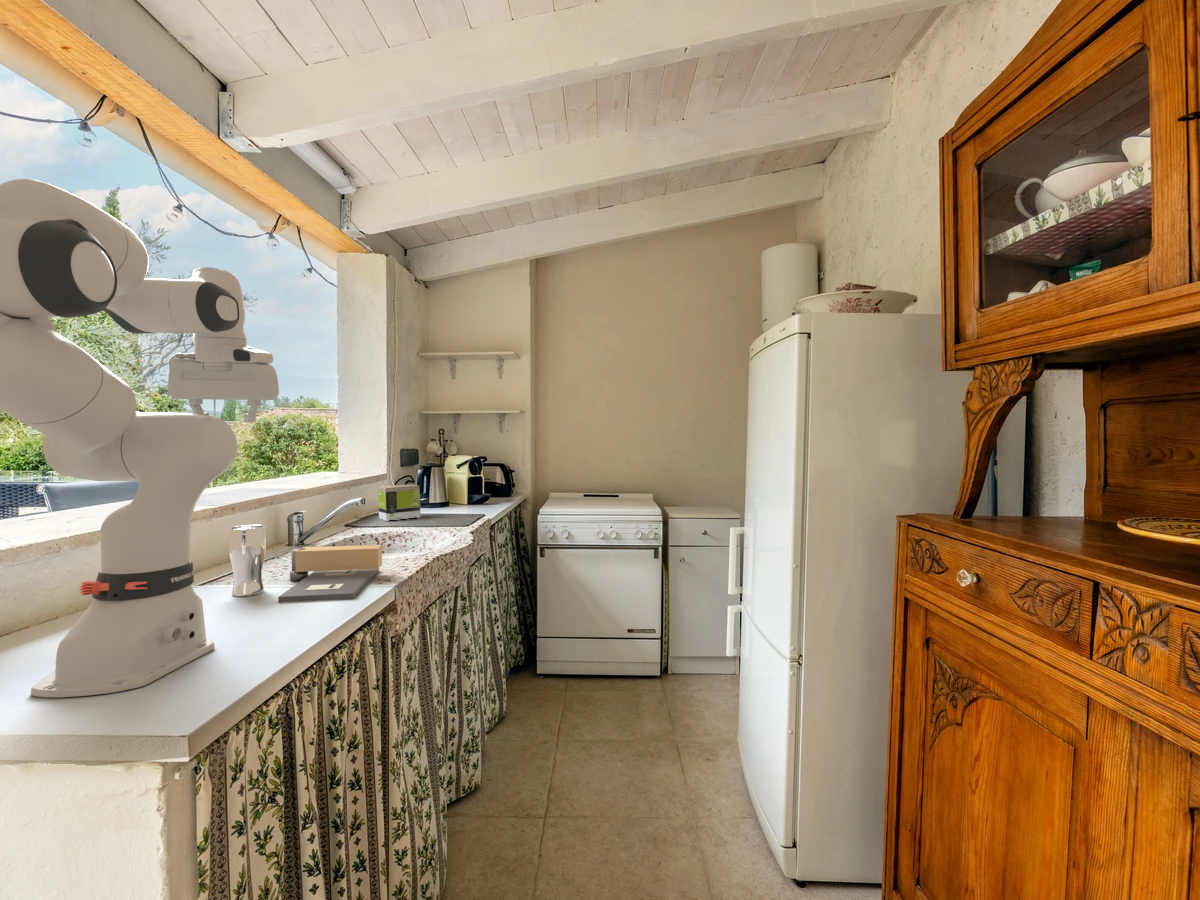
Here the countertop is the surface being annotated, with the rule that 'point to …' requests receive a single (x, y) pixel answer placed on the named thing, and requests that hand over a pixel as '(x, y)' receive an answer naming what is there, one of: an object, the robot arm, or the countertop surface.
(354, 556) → the swing arm
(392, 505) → the tea box
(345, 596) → the label panel
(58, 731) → the countertop surface
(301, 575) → the pivot post
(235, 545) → the beer glass
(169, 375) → the robot arm
